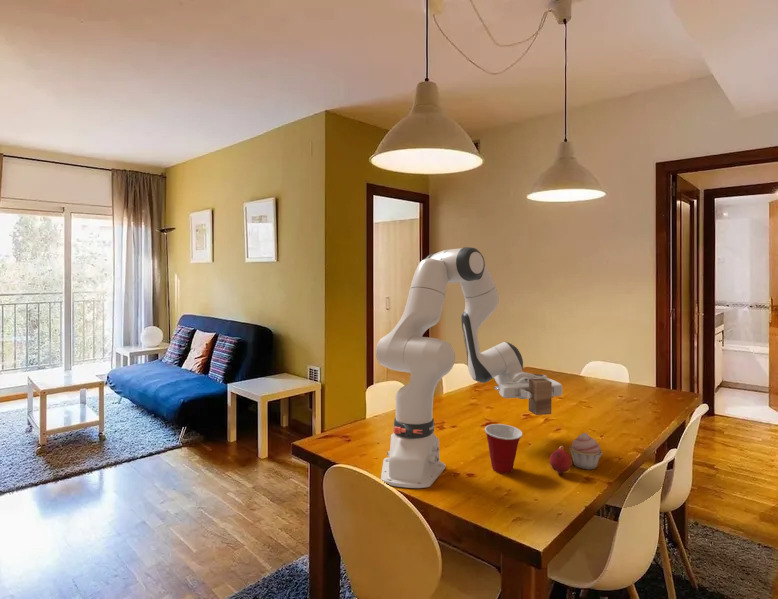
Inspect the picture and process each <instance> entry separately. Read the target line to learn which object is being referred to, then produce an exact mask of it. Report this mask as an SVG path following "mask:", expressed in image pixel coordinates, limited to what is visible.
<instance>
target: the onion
mask: <svg viewBox="0 0 778 599" xmlns="http://www.w3.org/2000/svg"><path fill="white" fill-rule="evenodd" d="M572 461H573V460H572V456H570V454H569V453H568V452H567V451H566V450H565V449H564V446H563V445H560V446H559V447H558V448H557V449H555V450H554V451H553V452H552V453H551V454H550V456H549V464H550V466H551V469H553V470H554V471H555V472H557V473H558V474H559V475H562V474H564V473H566V472H567V471H568V470H570V468H571V467H572Z"/></svg>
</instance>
